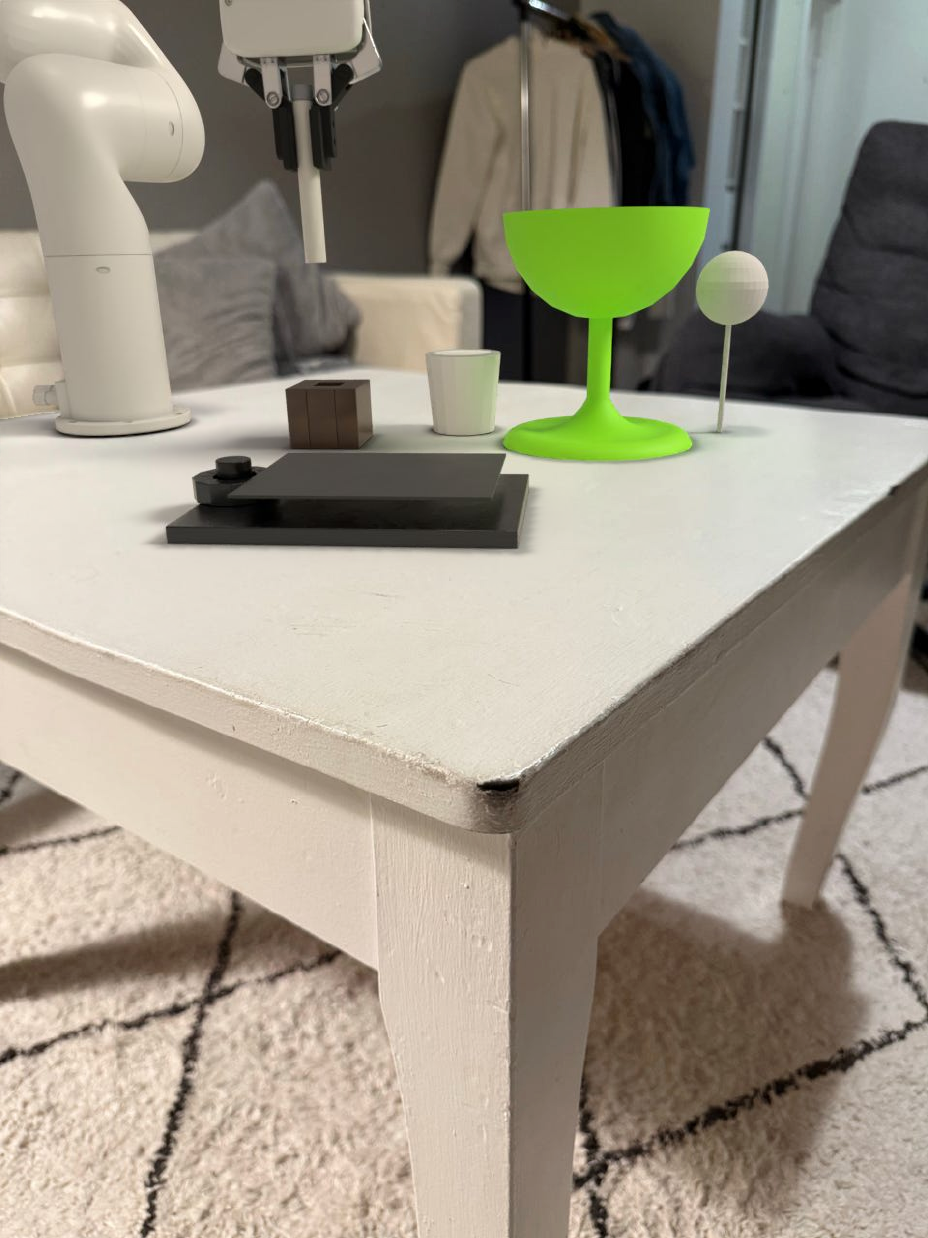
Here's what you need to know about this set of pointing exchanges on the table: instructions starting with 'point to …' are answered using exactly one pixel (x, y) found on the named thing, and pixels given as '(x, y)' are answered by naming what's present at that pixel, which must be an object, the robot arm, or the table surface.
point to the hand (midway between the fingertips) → (308, 168)
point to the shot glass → (463, 390)
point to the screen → (377, 477)
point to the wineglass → (602, 312)
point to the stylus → (308, 176)
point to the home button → (233, 467)
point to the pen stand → (329, 414)
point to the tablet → (351, 519)
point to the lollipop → (731, 298)
